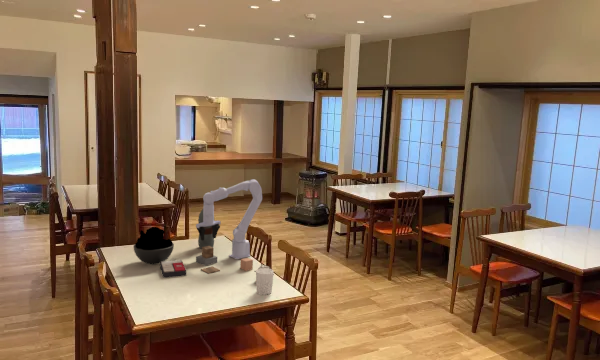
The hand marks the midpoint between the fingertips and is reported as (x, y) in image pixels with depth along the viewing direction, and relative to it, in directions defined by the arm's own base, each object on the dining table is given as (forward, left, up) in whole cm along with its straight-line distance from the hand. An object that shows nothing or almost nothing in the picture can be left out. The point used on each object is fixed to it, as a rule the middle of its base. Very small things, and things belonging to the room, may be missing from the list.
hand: (208, 238), depth 259 cm
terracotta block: (-5, +28, -10) cm, 30 cm away
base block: (+5, +7, -11) cm, 14 cm away
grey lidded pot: (-1, +47, -11) cm, 48 cm away
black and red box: (+27, +9, -11) cm, 30 cm away
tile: (+11, +19, -10) cm, 24 cm away
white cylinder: (+8, +58, -11) cm, 60 cm away
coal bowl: (+28, -8, -11) cm, 31 cm away
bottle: (-9, -16, -11) cm, 21 cm away
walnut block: (+5, +7, -7) cm, 11 cm away
